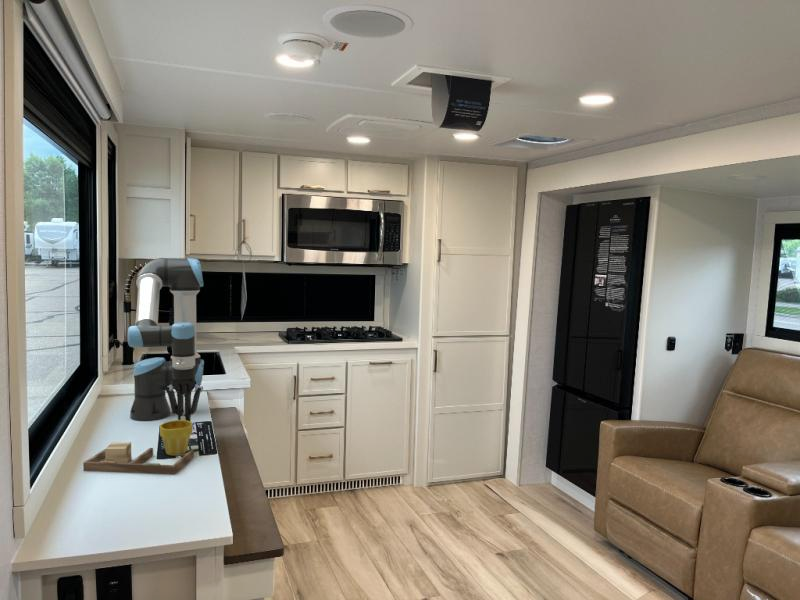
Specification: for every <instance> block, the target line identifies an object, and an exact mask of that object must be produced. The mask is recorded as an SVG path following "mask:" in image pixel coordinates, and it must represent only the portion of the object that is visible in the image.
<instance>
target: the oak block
mask: <svg viewBox="0 0 800 600" xmlns="http://www.w3.org/2000/svg"><path fill="white" fill-rule="evenodd" d="M104 449H105V459H104V461H115V462H116V463H130V462H131V461H133V460H132V458H133V457H132V442H131V441H123V442H121V441H119V442H111V443H110V444H109V445H107V446H106V447H105V448H104Z"/></svg>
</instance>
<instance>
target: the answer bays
mask: <svg viewBox="0 0 800 600" xmlns="http://www.w3.org/2000/svg"><path fill="white" fill-rule="evenodd" d="M105 449H106V448H104V449H103V450H101V451H99V452H97V454H94V455H93V456H90V458H88V459H87V460H85V461H83V463H82V464H83V468H82V469H83V471H86V472H89V471H90V472H109V473H110V472H114V473H116V472H117V473H134V474H154V475H155V474H156V475H157V474H160V475H176V474H177V473H178V472H179V471H180V470H181V469H182V468H184V466H186V465H187V464H188V463H189V462H190V461H191V460H193V458H194V457H195V449H190V450H189V451H188V452H187V453H186V452H185V453H184V454H183V455H182V457H181V458H180V459H178V460H177V461H176V462H175V463H174V464H172V465H171V464H161V463H160V462H146V461H148V460H149V459H150V458H151V457H153V456H152V455H154V448H153V447H150V448H147V449H146V450H145V451H144V452H143V453H141V454H140V455H138V456H137V457H135V458H134V459H133V460H131V461H130V462H129V463H116V462H115V461H105ZM101 460H102V461H101Z"/></svg>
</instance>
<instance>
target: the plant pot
mask: <svg viewBox="0 0 800 600" xmlns="http://www.w3.org/2000/svg"><path fill="white" fill-rule="evenodd" d="M192 434H193V422H192V421H191V422H190V421H186V420H178V419H175V420H174V419H173V420H169V421H165V422H162V423H161V424H160V426H159V436H160V437H161V438H162V443H163V447H164V450H165V453H166V455H168V456H179V455H180V456H181V455H185V454H186V452H187V451H188V447H189V443H190V437H191V435H192Z"/></svg>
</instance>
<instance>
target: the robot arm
mask: <svg viewBox="0 0 800 600" xmlns="http://www.w3.org/2000/svg"><path fill="white" fill-rule="evenodd" d="M135 284H136V287H137V289H138V291H137V300H136V301H137V303H136V315H135V323H134V325H131V326H129V327H128V328H127V344H128V346H129V347H130V348H152V347H153V348H154V347H155V348H156V347H171V351H172V352H171V353H172V354H171V356H170V360H169V361H168V360H167V361H166V358H164V357H150V358H146V359H143V360H139V361H137V362H136V363H135V365H134V371H133V376H134V378H133V379H134V399H133V403H132V406H131V408H130V412H129V413H130V414H129V417H130V418H131V419H132V420H134V421H141V422H143V421H147V422H148V421H157V420H161V419H164V418H167V417H169V416H170V415H171V412H172V414H173V415H177V420H186V421H190V422H192V417H191V415H194V414H195V413H196V412H197V410H198V405H199V399H200V397H201V396H200V395H201V393H202V392H203V390H204V387H203V386H201V385H202V381H203V375H204V367H205V366H204V365H205V361H204V359H201V355H200V354H199V353H198V351H197V295H198V294H199V292H200V291H201V288H202V287H204V279H203V271H202V265H201V262H200V260H199V259H197V258H191V257H186V258H184V257H178V258H177V257H176V258H175V257H174V258H173V257H172V258H170V257H160V258H159V257H158V258H155V259H152V260H150V261H148V262H147V263H146V264H145V265H144V266H142V268H141V269H140V270H139V272H138V273H137V276H136V281H135ZM163 287H169V292H170V293H171V294H172V295H173V312H174V315H173V319H174V320H173V324H171V325H170V324H168V325H158V324H159V307H160V306H159V305H160V290H161V289H162V288H163ZM193 390H194V394H193V398H192V392H193ZM175 392H176V394H175ZM166 394H167V396H168V399H167V396H166ZM176 397H177V398H176ZM168 401H169V402H168ZM169 404H170V405H169Z"/></svg>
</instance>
